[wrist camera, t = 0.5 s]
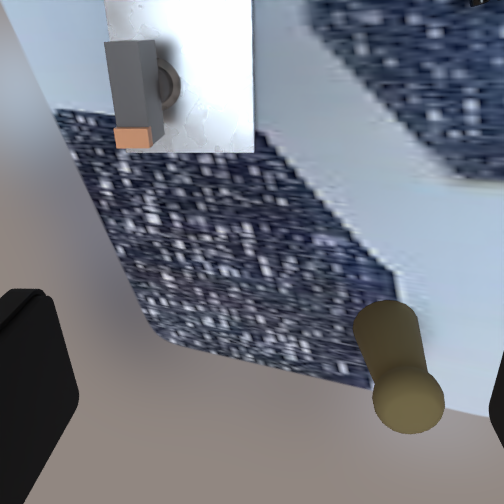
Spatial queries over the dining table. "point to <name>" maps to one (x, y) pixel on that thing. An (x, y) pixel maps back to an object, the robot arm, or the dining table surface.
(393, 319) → the cork
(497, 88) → the dining table surface
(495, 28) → the dining table surface
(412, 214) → the dining table surface
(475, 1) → the valve
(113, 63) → the knob
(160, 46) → the plate
